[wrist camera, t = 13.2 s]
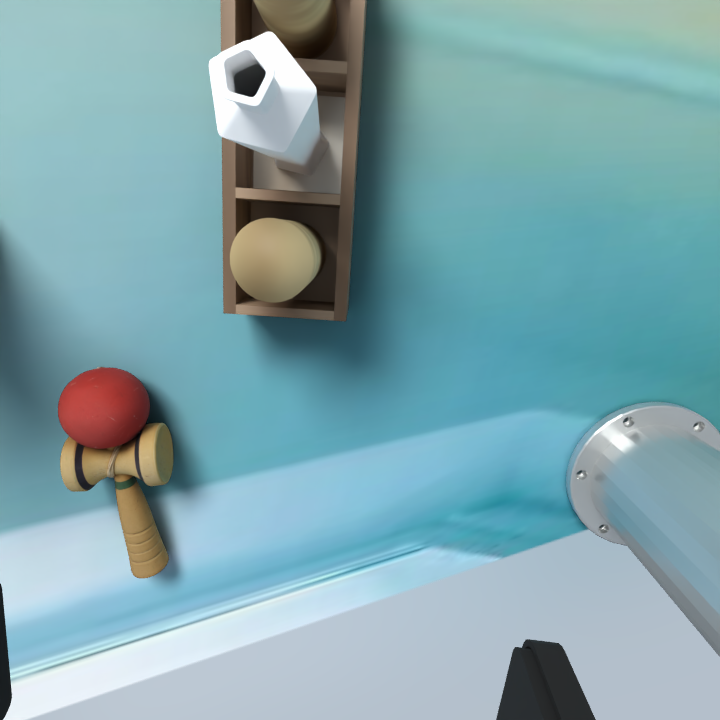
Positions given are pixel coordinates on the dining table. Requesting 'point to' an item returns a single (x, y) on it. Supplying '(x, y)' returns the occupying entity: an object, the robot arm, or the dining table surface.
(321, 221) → the wooden condiment caddy
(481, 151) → the dining table surface
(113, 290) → the dining table surface
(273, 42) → the white faceted vase
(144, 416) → the kendama
